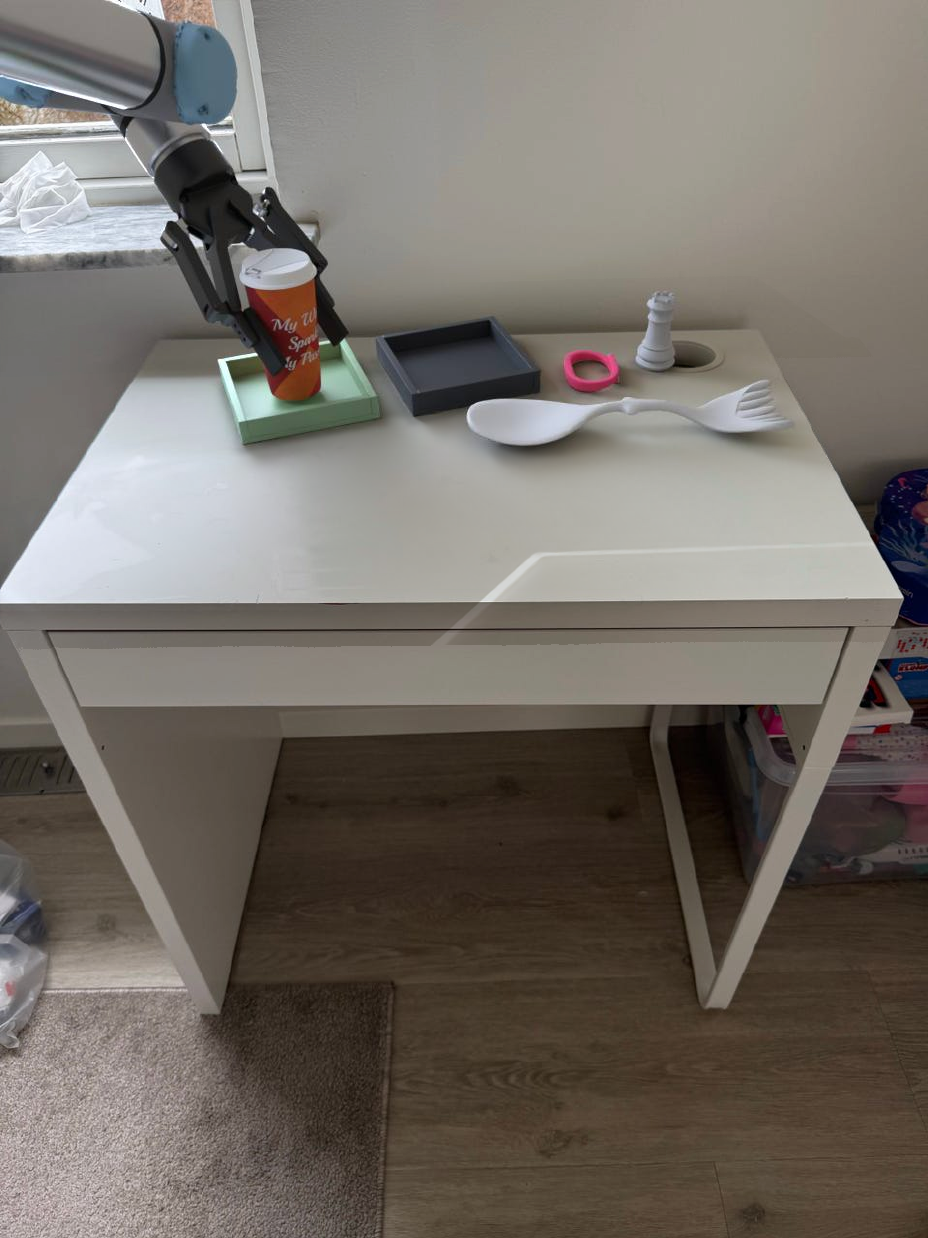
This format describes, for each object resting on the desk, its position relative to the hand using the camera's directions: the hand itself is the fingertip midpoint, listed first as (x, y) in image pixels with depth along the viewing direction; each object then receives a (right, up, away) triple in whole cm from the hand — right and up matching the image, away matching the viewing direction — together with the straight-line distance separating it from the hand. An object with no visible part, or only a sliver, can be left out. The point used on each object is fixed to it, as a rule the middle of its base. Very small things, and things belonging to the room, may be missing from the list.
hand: (311, 354), depth 98 cm
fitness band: (+30, 0, +8) cm, 31 cm away
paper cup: (-2, -2, +5) cm, 6 cm away
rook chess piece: (+38, +2, +10) cm, 39 cm away
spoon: (+32, -8, -1) cm, 33 cm away
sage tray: (-2, -3, +6) cm, 7 cm away
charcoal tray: (+15, 0, +9) cm, 18 cm away
